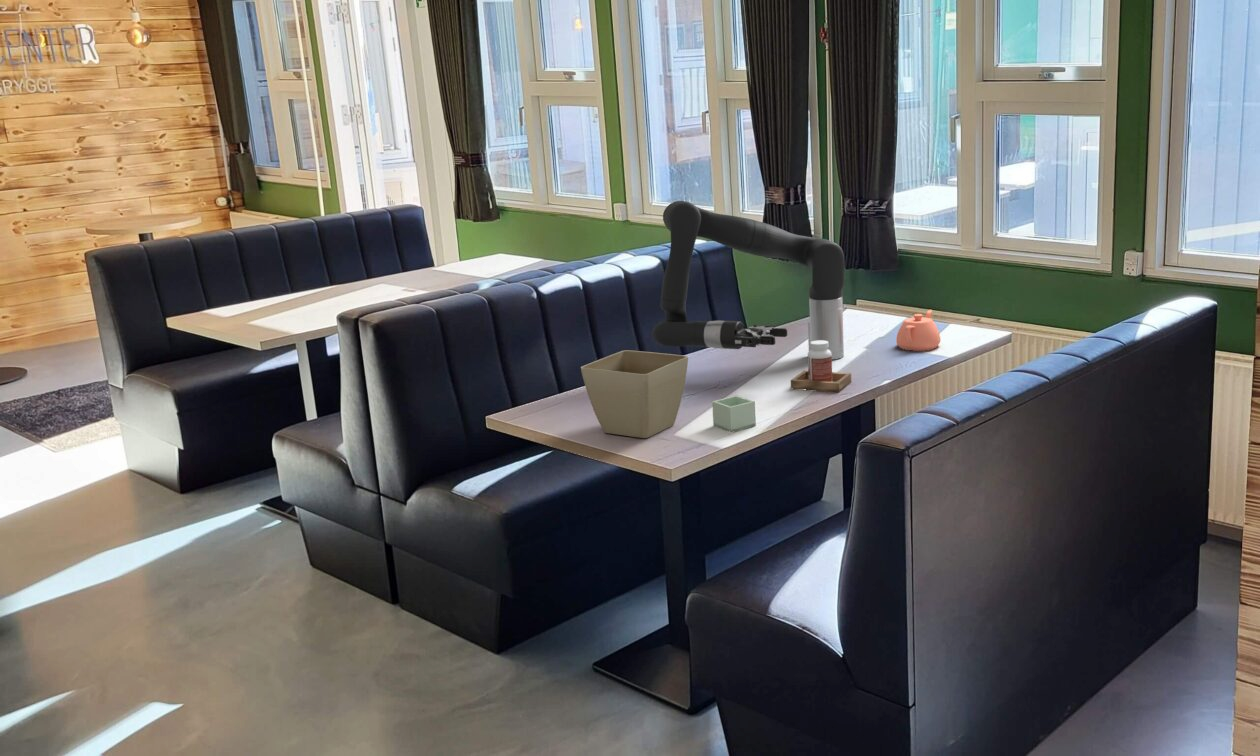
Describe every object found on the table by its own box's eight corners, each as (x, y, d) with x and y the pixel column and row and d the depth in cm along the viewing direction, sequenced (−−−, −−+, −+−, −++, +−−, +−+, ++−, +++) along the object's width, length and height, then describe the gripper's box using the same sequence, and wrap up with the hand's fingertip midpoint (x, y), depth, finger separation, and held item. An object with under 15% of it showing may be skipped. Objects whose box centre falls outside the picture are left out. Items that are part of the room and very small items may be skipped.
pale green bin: (713, 425, 293) (712, 401, 291) (737, 419, 296) (736, 395, 295) (731, 432, 287) (730, 407, 285) (755, 425, 290) (754, 401, 289)
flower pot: (629, 413, 307) (624, 348, 303) (693, 422, 296) (690, 355, 292) (583, 435, 292) (578, 367, 288) (650, 445, 282) (645, 374, 277)
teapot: (886, 351, 350) (886, 319, 347) (912, 337, 364) (912, 306, 361) (927, 355, 343) (926, 322, 340) (951, 340, 357) (951, 309, 354)
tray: (790, 389, 319) (790, 380, 318) (804, 379, 327) (804, 370, 327) (838, 392, 313) (838, 383, 312) (851, 382, 321) (851, 373, 320)
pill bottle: (837, 383, 319) (836, 341, 316) (819, 388, 316) (818, 346, 313) (821, 378, 324) (820, 338, 321) (803, 383, 321) (802, 342, 318)
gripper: (712, 327, 323) (770, 329, 315) (733, 315, 335) (789, 316, 327) (714, 355, 325) (771, 357, 317) (735, 341, 337) (791, 343, 329)
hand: (780, 336), depth 322 cm, fingers open, 8 cm apart
